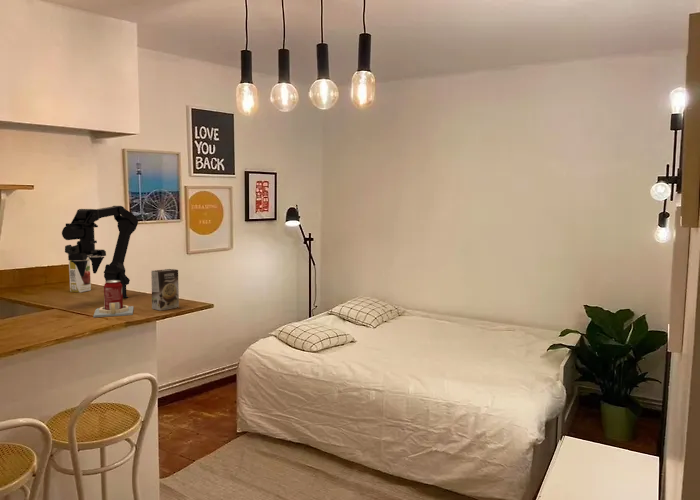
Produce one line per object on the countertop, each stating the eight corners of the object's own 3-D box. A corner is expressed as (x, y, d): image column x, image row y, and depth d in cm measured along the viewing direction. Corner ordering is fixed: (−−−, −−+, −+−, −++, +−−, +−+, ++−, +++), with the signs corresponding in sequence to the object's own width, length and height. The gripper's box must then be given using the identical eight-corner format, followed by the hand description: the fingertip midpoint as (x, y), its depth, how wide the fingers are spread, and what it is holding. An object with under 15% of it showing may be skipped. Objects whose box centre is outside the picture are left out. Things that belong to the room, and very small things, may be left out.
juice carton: (67, 292, 256) (65, 253, 254) (81, 289, 264) (79, 251, 262) (80, 293, 254) (78, 253, 252) (93, 290, 262) (91, 252, 260)
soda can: (121, 311, 209) (120, 282, 208) (103, 312, 207) (102, 282, 206) (124, 308, 216) (123, 279, 214) (106, 309, 214) (105, 280, 213)
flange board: (96, 310, 216) (96, 298, 215) (133, 307, 221) (133, 296, 220) (93, 317, 203) (92, 305, 202) (132, 314, 208) (132, 302, 207)
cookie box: (160, 310, 215) (159, 271, 214) (151, 308, 219) (150, 270, 218) (179, 307, 222) (178, 269, 221) (170, 305, 226) (169, 268, 225)
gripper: (81, 236, 233) (83, 271, 235) (55, 239, 215) (56, 277, 216) (106, 237, 232) (107, 272, 234) (81, 240, 214) (82, 278, 215)
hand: (88, 274), depth 225 cm, fingers open, 9 cm apart
